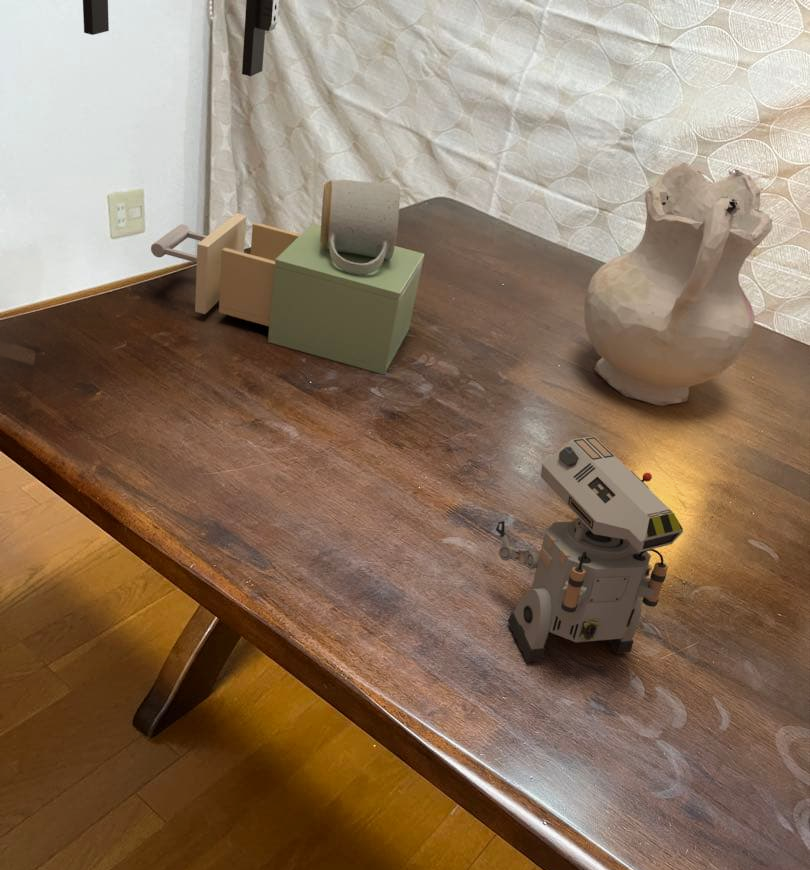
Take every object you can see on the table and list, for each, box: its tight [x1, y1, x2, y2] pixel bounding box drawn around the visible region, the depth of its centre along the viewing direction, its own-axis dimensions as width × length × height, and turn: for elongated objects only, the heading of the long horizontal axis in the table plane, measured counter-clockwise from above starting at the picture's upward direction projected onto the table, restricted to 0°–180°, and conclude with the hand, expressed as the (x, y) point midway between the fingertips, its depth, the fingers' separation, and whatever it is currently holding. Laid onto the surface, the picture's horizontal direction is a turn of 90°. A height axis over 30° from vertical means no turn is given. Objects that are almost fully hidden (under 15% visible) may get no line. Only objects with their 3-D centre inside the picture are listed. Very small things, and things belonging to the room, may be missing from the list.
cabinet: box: [267, 223, 425, 375], centre depth 98 cm, size 14×13×10 cm
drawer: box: [150, 212, 302, 327], centre depth 98 cm, size 19×11×8 cm, turn 77°
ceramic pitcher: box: [583, 161, 773, 407], centre depth 98 cm, size 22×20×25 cm
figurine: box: [495, 435, 684, 662], centre depth 64 cm, size 9×12×15 cm
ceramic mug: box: [320, 179, 401, 275], centre depth 92 cm, size 11×8×8 cm
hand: (173, 52), depth 71 cm, fingers open, 13 cm apart
